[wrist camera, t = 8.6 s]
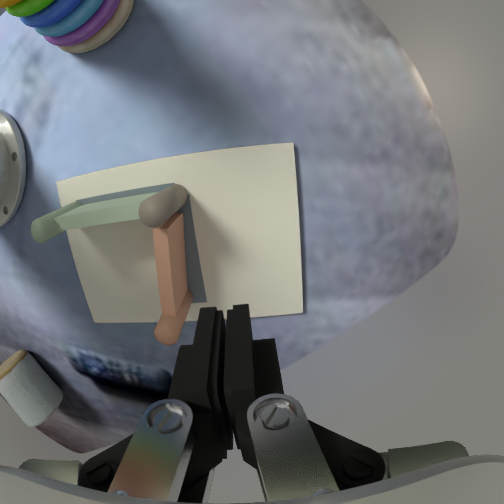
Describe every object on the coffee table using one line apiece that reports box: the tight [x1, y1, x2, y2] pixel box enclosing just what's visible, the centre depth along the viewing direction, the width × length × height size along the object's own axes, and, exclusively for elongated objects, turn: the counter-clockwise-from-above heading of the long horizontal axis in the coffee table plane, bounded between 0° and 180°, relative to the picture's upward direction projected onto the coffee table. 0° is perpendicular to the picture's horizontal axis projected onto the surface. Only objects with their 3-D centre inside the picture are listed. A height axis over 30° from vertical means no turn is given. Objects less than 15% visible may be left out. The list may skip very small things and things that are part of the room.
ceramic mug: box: [0, 350, 63, 427], centre depth 28 cm, size 11×8×8 cm
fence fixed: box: [31, 192, 158, 243], centre depth 20 cm, size 9×2×6 cm, turn 96°
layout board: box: [56, 143, 303, 323], centre depth 24 cm, size 20×14×1 cm
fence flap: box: [138, 184, 193, 345], centre depth 21 cm, size 10×2×6 cm, turn 179°
